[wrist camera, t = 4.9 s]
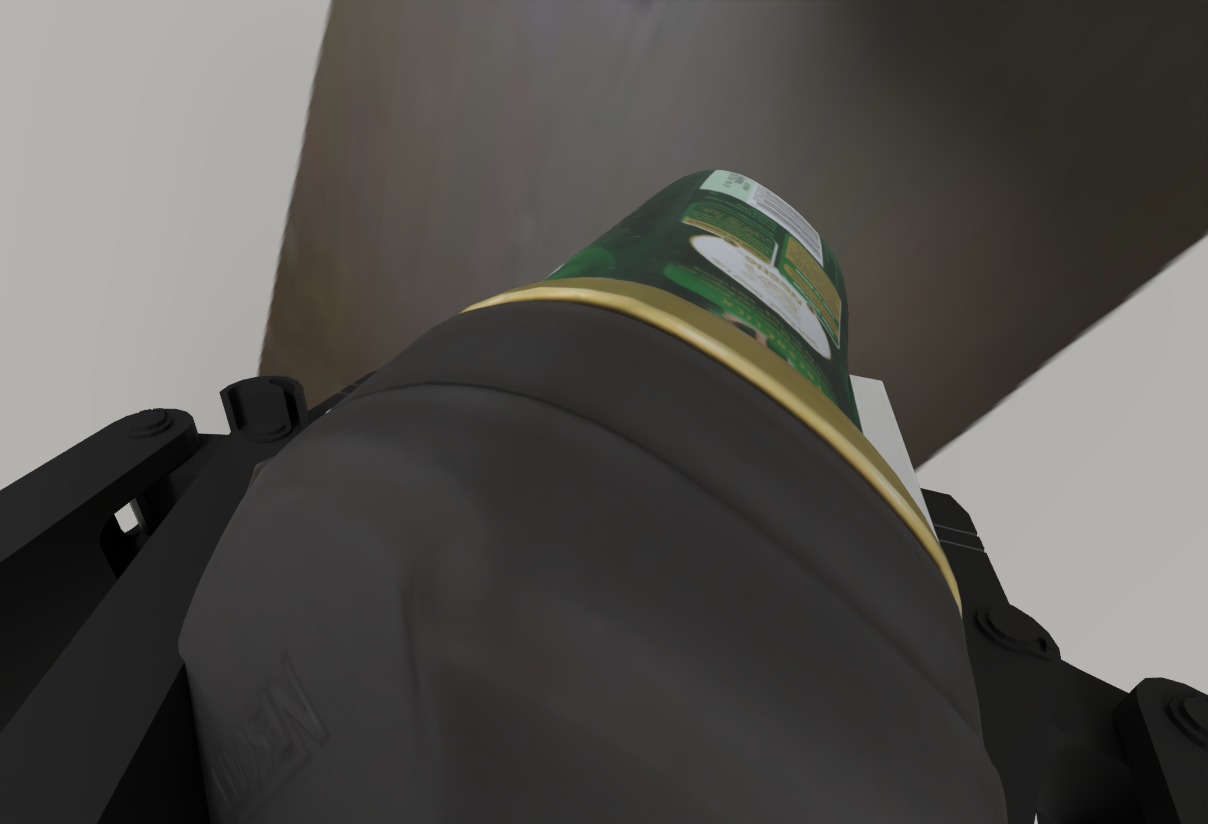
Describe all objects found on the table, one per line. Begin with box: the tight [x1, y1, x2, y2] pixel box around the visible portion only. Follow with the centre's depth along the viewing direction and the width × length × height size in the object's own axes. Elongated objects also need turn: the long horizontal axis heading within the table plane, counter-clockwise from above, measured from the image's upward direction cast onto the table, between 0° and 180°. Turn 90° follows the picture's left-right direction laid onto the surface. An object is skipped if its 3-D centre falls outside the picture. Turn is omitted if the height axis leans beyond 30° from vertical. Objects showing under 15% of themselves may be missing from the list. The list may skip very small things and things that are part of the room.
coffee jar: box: [178, 170, 1008, 824], centre depth 12 cm, size 10×8×19 cm
